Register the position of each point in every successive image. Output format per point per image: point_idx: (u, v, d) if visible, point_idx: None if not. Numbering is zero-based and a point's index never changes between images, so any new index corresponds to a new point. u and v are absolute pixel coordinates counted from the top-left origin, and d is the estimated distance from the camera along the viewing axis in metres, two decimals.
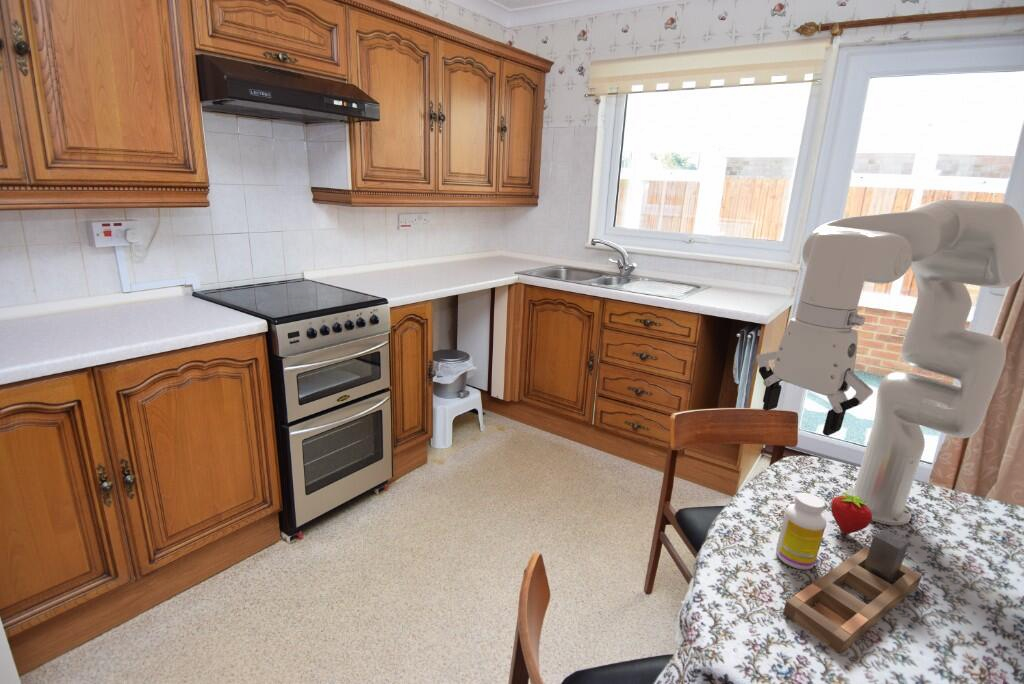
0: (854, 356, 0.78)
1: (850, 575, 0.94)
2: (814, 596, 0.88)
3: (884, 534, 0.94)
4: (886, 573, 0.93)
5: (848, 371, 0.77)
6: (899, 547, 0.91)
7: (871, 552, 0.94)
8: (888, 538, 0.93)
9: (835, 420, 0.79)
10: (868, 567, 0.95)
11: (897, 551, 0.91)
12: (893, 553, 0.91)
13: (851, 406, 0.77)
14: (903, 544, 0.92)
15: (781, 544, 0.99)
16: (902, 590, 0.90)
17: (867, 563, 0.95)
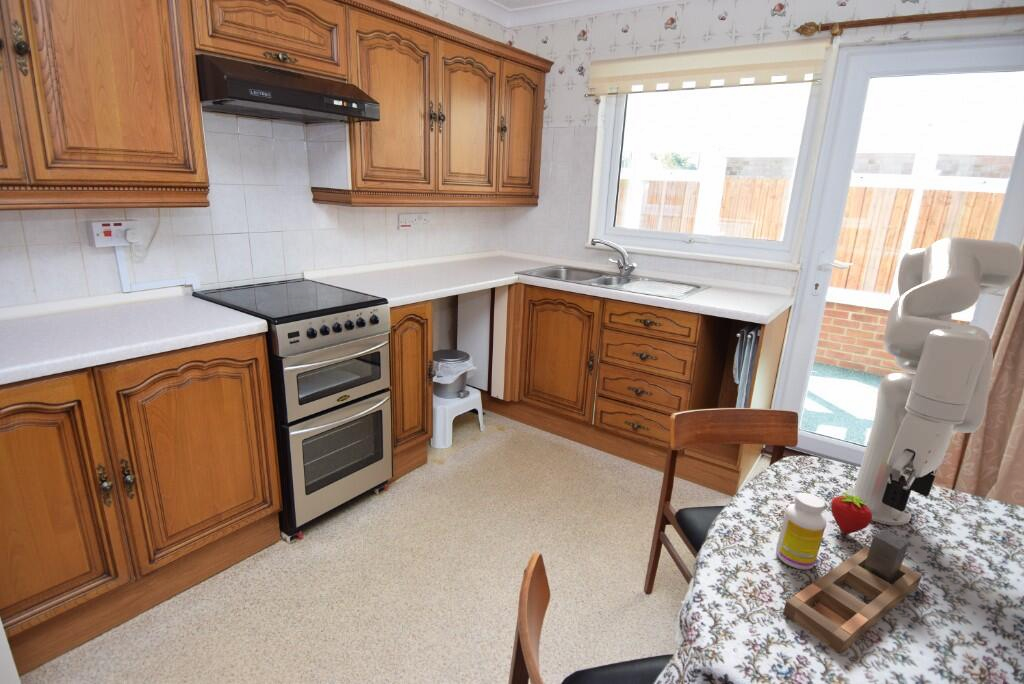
0: None
1: (850, 575, 0.94)
2: (814, 596, 0.88)
3: (884, 534, 0.94)
4: (886, 573, 0.93)
5: None
6: (899, 547, 0.91)
7: (871, 552, 0.94)
8: (888, 538, 0.93)
9: None
10: (868, 567, 0.95)
11: (897, 551, 0.91)
12: (893, 553, 0.91)
13: None
14: (903, 544, 0.92)
15: (781, 544, 0.99)
16: (902, 590, 0.90)
17: (867, 563, 0.95)
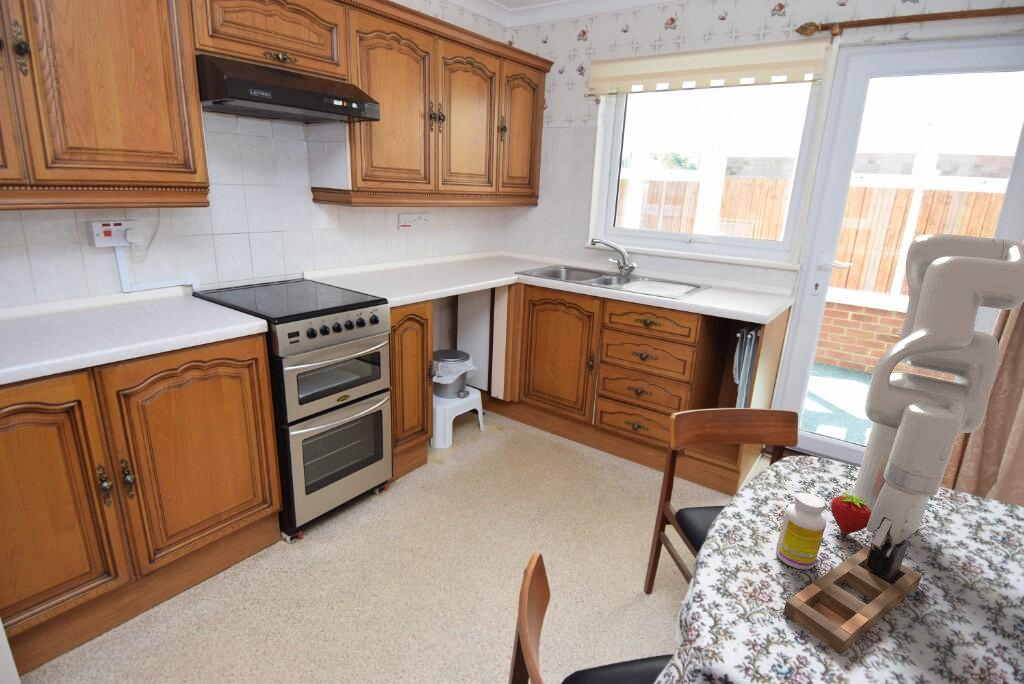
0: None
1: (850, 575, 0.94)
2: (814, 596, 0.88)
3: None
4: None
5: None
6: (899, 547, 0.91)
7: None
8: None
9: None
10: (868, 567, 0.95)
11: (897, 551, 0.91)
12: (893, 552, 0.91)
13: None
14: (903, 544, 0.92)
15: (781, 544, 0.99)
16: (902, 590, 0.90)
17: None
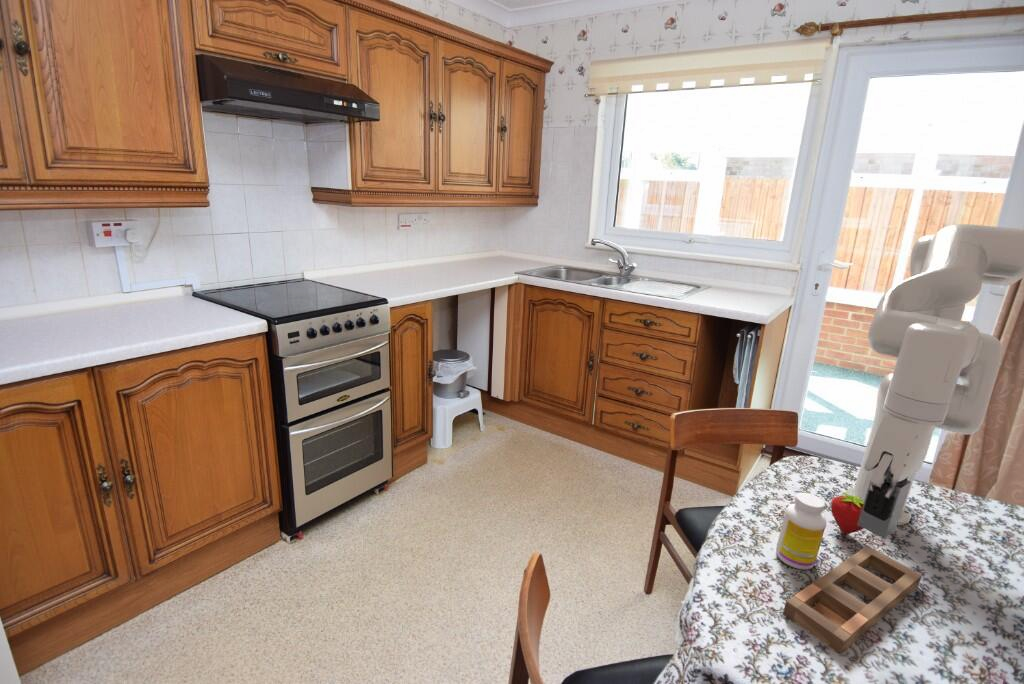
0: None
1: (850, 575, 0.94)
2: (814, 596, 0.88)
3: None
4: None
5: None
6: (900, 486, 0.81)
7: None
8: None
9: None
10: None
11: (898, 491, 0.81)
12: (894, 493, 0.82)
13: None
14: (905, 484, 0.82)
15: (781, 544, 0.99)
16: (902, 590, 0.90)
17: None
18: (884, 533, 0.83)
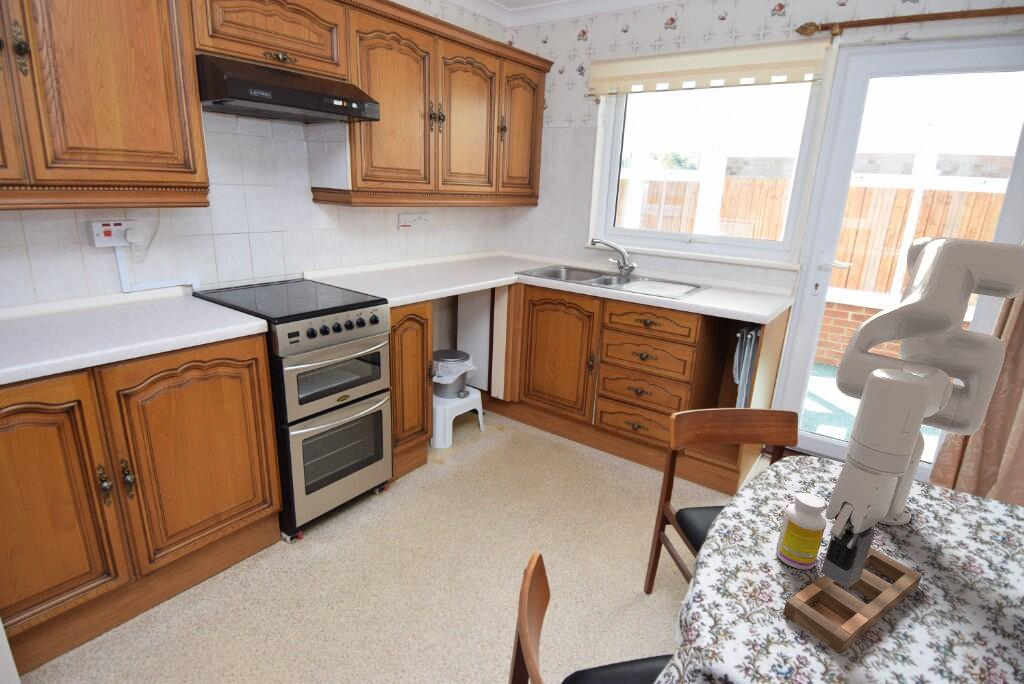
0: None
1: None
2: (814, 596, 0.88)
3: None
4: None
5: None
6: (863, 536, 0.78)
7: None
8: None
9: None
10: None
11: (860, 541, 0.78)
12: (856, 543, 0.79)
13: None
14: (868, 533, 0.79)
15: (781, 544, 0.99)
16: (902, 590, 0.90)
17: None
18: (847, 583, 0.81)
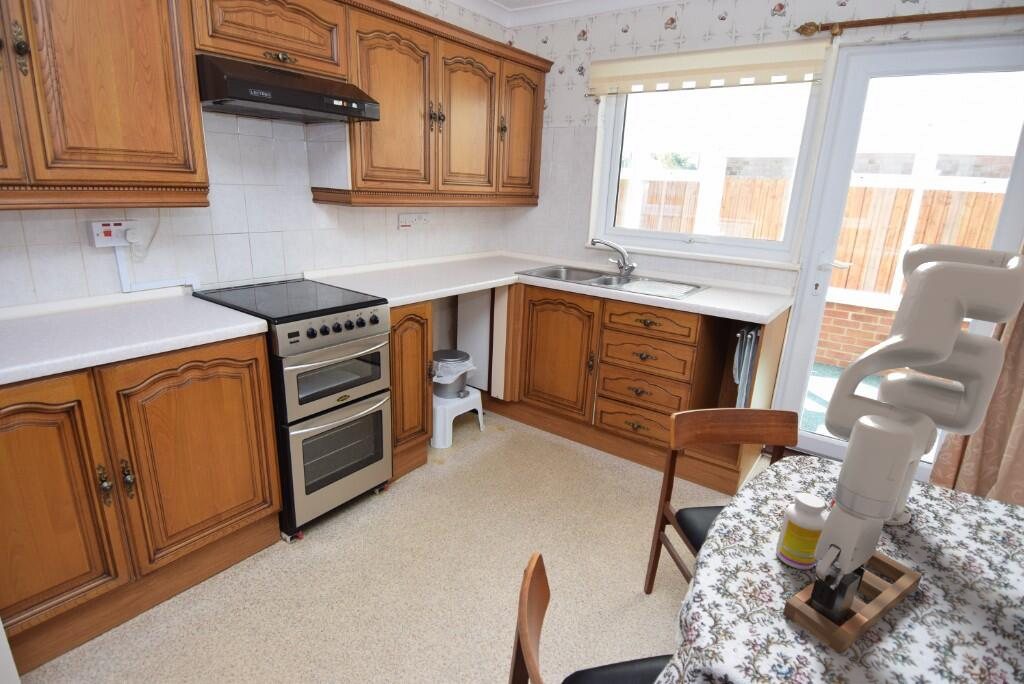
0: None
1: None
2: None
3: None
4: (835, 612, 0.83)
5: None
6: (848, 584, 0.81)
7: None
8: None
9: None
10: (816, 604, 0.85)
11: (846, 588, 0.81)
12: (842, 590, 0.82)
13: None
14: (853, 580, 0.82)
15: (781, 544, 0.99)
16: (902, 590, 0.90)
17: None
18: None
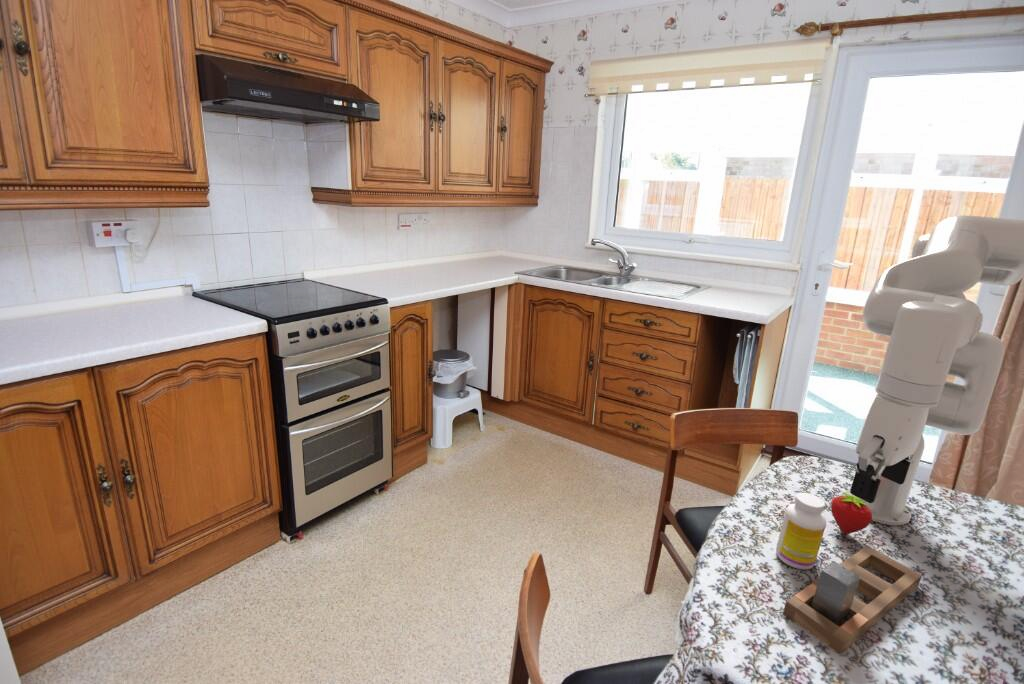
0: None
1: None
2: None
3: (833, 568, 0.84)
4: (835, 612, 0.83)
5: None
6: (848, 584, 0.81)
7: (819, 588, 0.85)
8: (838, 572, 0.83)
9: None
10: (816, 604, 0.85)
11: (846, 588, 0.81)
12: (842, 590, 0.82)
13: None
14: (853, 580, 0.82)
15: (781, 544, 0.99)
16: (902, 590, 0.90)
17: (815, 600, 0.85)
18: None
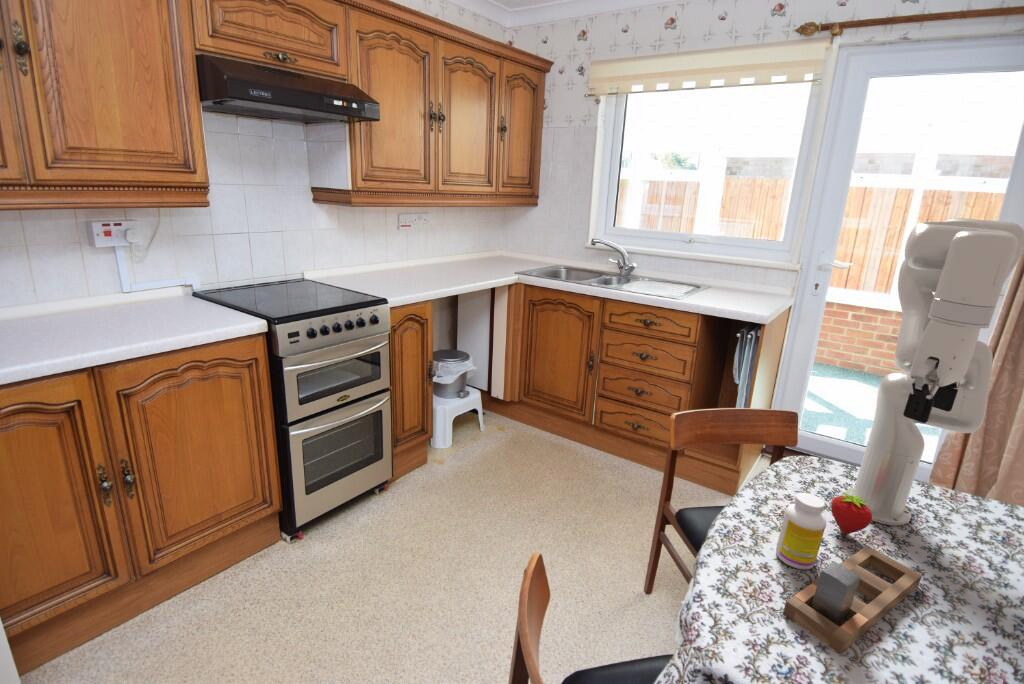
0: None
1: None
2: None
3: (833, 568, 0.84)
4: (835, 612, 0.83)
5: None
6: (848, 584, 0.81)
7: (819, 588, 0.85)
8: (838, 572, 0.83)
9: None
10: (816, 604, 0.85)
11: (846, 588, 0.81)
12: (842, 590, 0.82)
13: None
14: (853, 580, 0.82)
15: (781, 544, 0.99)
16: (902, 590, 0.90)
17: (815, 600, 0.85)
18: None
